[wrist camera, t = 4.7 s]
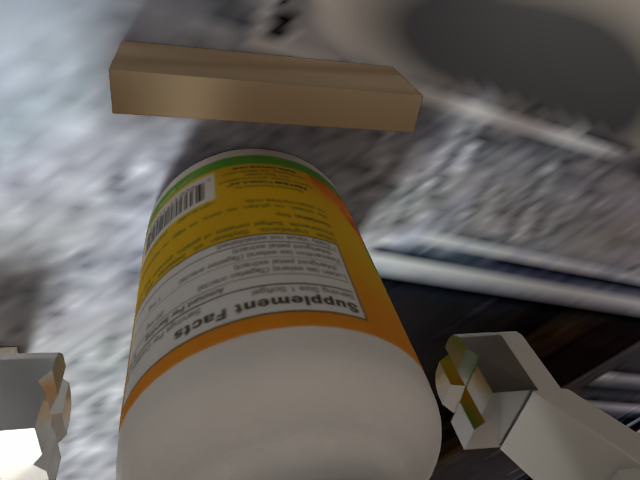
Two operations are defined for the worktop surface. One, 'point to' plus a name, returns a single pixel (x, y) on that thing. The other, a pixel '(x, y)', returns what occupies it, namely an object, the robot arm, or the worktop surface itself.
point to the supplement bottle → (268, 338)
